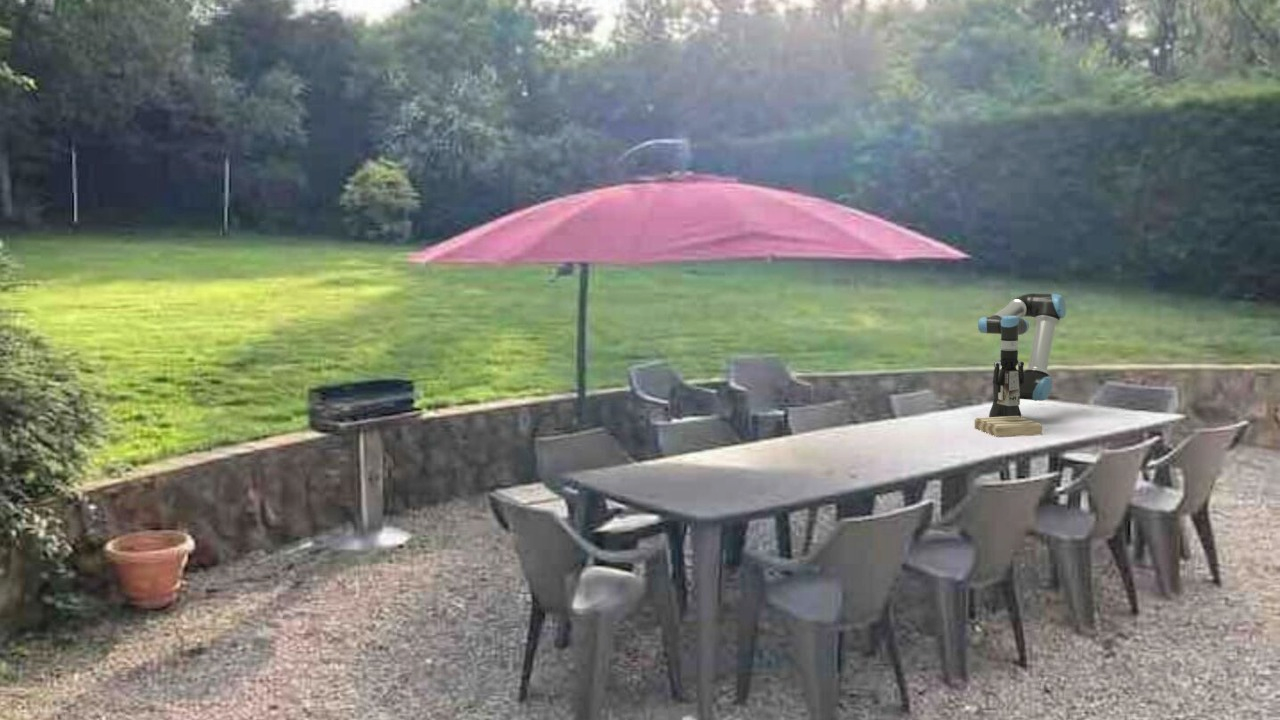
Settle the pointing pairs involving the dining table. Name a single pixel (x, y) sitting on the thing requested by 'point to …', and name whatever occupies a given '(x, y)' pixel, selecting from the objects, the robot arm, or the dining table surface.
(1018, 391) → the coffee box
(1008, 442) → the dining table surface
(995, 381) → the robot arm
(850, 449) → the dining table surface
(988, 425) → the stand
